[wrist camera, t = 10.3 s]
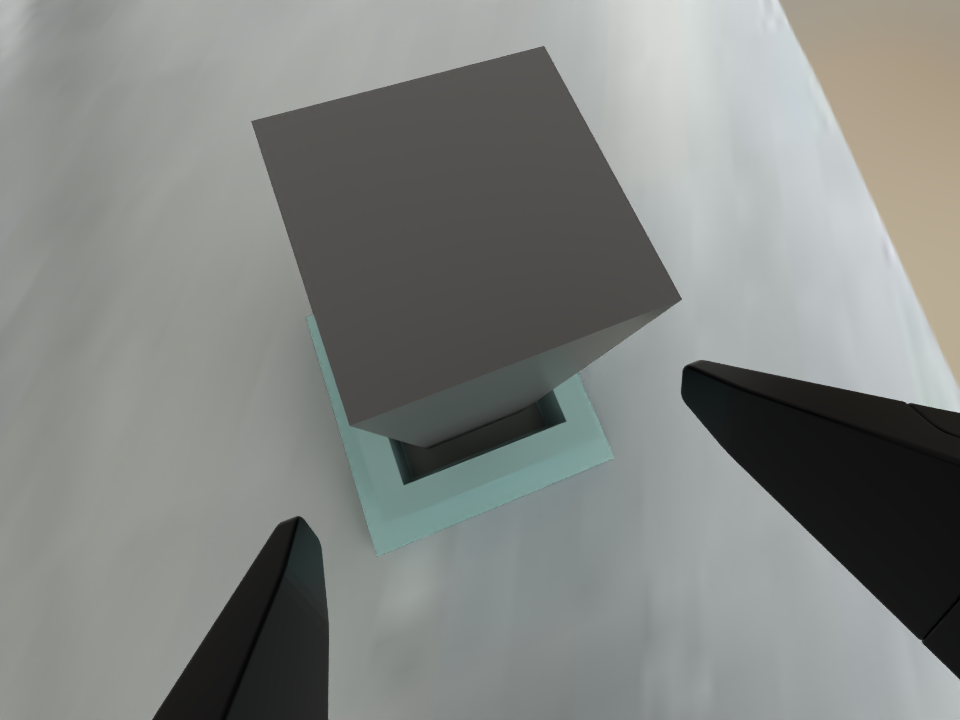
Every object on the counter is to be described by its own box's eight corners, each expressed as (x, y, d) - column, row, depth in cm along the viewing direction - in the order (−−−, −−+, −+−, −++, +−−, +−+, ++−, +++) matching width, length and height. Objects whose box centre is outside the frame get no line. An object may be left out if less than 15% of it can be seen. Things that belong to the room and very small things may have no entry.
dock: (606, 457, 18) (646, 458, 15) (381, 551, 17) (358, 579, 13) (519, 257, 21) (533, 212, 17) (313, 324, 19) (276, 290, 15)
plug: (520, 412, 18) (681, 299, 5) (428, 449, 17) (349, 425, 4) (484, 325, 19) (543, 45, 6) (395, 357, 18) (251, 121, 5)
